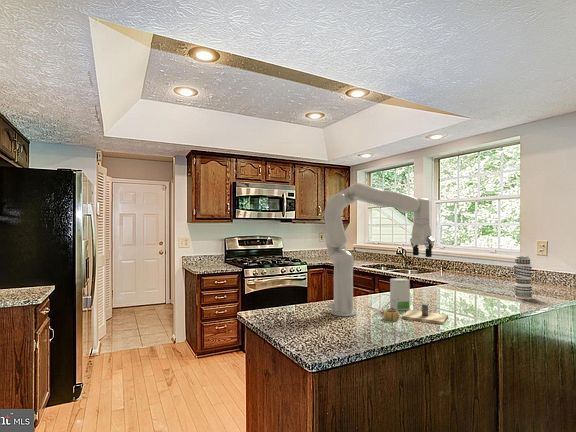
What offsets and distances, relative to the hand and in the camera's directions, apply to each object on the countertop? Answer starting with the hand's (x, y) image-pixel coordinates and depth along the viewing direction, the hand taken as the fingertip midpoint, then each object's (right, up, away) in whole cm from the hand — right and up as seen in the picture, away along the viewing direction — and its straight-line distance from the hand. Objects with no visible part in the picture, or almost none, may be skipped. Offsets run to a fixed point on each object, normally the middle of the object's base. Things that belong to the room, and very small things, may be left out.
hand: (422, 256), depth 175 cm
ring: (-20, -28, -14) cm, 37 cm away
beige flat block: (-3, -28, -12) cm, 31 cm away
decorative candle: (+73, -29, +32) cm, 85 cm away
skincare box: (-9, -29, +6) cm, 31 cm away
